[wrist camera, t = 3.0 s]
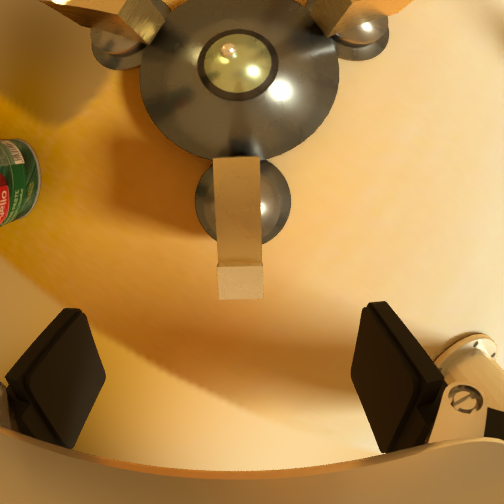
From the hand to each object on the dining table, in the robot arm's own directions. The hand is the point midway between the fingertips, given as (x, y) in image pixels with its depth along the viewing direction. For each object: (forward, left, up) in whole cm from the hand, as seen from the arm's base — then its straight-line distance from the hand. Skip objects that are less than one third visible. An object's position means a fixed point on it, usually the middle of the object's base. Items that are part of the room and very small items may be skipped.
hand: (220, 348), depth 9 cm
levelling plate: (+10, 0, -15) cm, 18 cm away
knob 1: (+17, +8, -15) cm, 24 cm away
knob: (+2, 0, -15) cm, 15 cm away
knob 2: (+17, -9, -15) cm, 25 cm away
